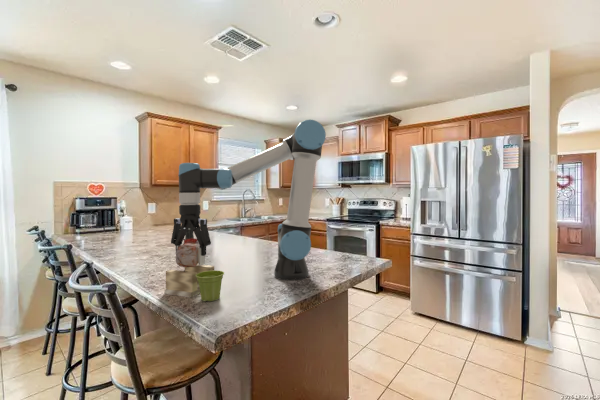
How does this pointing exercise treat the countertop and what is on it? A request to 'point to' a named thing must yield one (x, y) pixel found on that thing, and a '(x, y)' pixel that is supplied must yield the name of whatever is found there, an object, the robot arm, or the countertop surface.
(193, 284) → the stand
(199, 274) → the plant pot
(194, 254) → the food item
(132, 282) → the countertop surface
